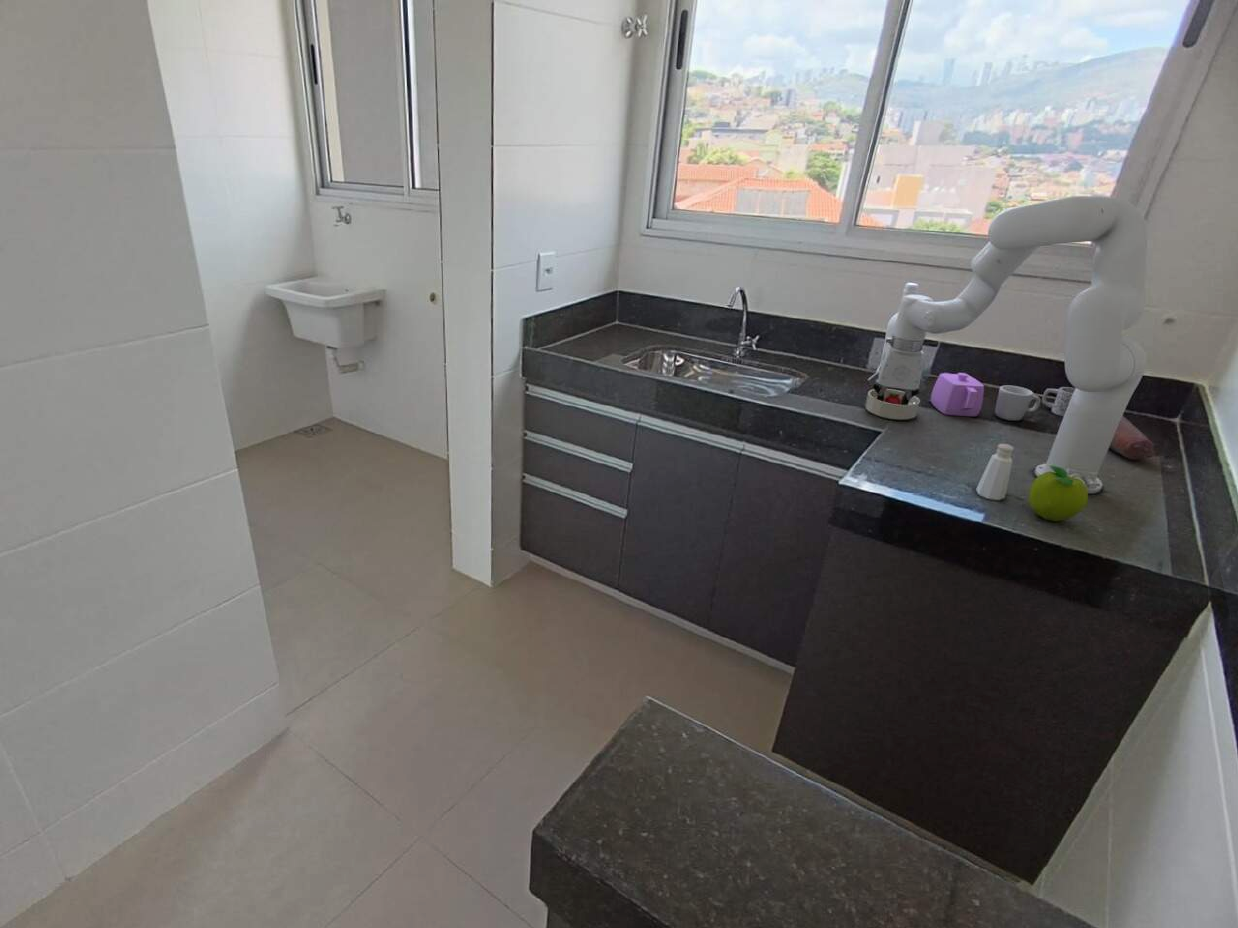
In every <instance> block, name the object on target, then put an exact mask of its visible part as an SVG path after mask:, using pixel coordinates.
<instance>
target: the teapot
mask: <svg viewBox="0 0 1238 928" xmlns="http://www.w3.org/2000/svg"><path fill="white" fill-rule="evenodd" d="M984 393H985V385H984V384H983V383H981V381H979V380H978V379H976V378H975V377H973V376H971V375H969V374H968V373H966V372H958V373H955V374H954V373H950V372H943V373H940V374H939V376H938V377H937V379H936V381H935V384H934V386H933V388H932V391H931V394H930V403H931V404H932V406H933V407H935V409H937V410H938V411H940V412H941V413H942V414H944V415H945V416H946V415H947V416H959V417H960V416H961V417H977V416H978V415H979V413H981V410H982V407H983V406H982V405H983V401H984Z"/></svg>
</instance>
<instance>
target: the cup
mask: <svg viewBox="0 0 1238 928" xmlns="http://www.w3.org/2000/svg"><path fill="white" fill-rule="evenodd" d="M1033 400H1035V403H1034V405H1033V406H1032V407H1030V408H1029V405H1030V403H1031V402H1032V401H1033ZM1040 405H1041V398H1040V396H1038V395H1036V394H1034V392H1033V391H1032V390H1030V389H1028V388H1025V387H1022V386H1017V385H1010V384H1009V385H1001V386H1000V387H999V390H998V395H997V400H996V404H995V410H994V411H995V416H996V417H998V418H1000V419H1002V420H1006V421H1011V422H1016V421H1021V420H1022V418H1023V417H1024V415H1025V414H1026V413H1033V412H1036V411H1037V410H1038V408H1039V407H1040Z"/></svg>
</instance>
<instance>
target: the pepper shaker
mask: <svg viewBox="0 0 1238 928" xmlns="http://www.w3.org/2000/svg"><path fill="white" fill-rule="evenodd" d="M1014 450H1015V448H1014V446H1012V445H1010V444H1008V443H999V444H998V445H997V449H996V453H995V454H992V455H991V457H990V458H989V461H988V463H987V465H986V467H985V469H984V471H983V474H982V476H981V478H980V480H979V482H978V484H977V486H976V488H975V492H976V493H977V494H978V496H980V497H983V498H985V499H987V500H993V501H1000V500H1003V499H1005V498H1006V494H1007V490H1008V484H1009V481H1010V480H1009V479H1010V475H1011V470H1012V467H1013V459H1012V458H1011V456H1012V454H1013V451H1014Z"/></svg>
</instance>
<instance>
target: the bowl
mask: <svg viewBox="0 0 1238 928" xmlns="http://www.w3.org/2000/svg"><path fill="white" fill-rule="evenodd" d="M890 392H897V393H899V396H898V397H899V398H900V404H901V400H902V396H904V394H905V391H903V390H898V389H894V388H887V389H886V391H885V392H884V400H885V398H886V397H887V396H888V395H889V393H890ZM877 396H878V393H877V392H876V391H875V389H874V388H873V389H870V390H869V391H868V392H867V394H866V400H865V404H864V407H865V409H866V410H867V411H868V412H870V413H871V414H873V415H874V416H878V417H879V418H880V417H881V418H884V419H889V420H893V421H895V420H896V421H903V420H911V419H915V418H916V416H918V413H919V408H920V405H921V400H920V398H919V397H918V396H916V395H915V396H913V397H912V398H911V399H910V400H909V403H908V405H898V404H891V403H887V402H884V401H880V400H878V399H877Z"/></svg>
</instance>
